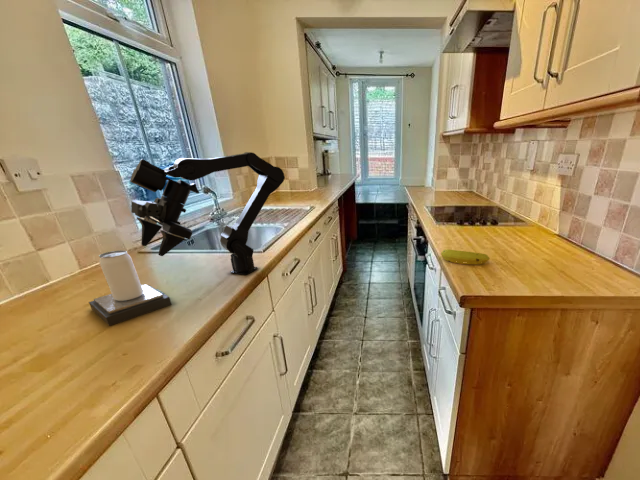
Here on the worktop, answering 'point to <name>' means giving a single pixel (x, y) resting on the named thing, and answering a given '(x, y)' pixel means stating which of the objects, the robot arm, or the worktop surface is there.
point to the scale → (131, 309)
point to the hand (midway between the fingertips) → (151, 250)
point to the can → (121, 275)
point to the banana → (464, 257)
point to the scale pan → (115, 306)
